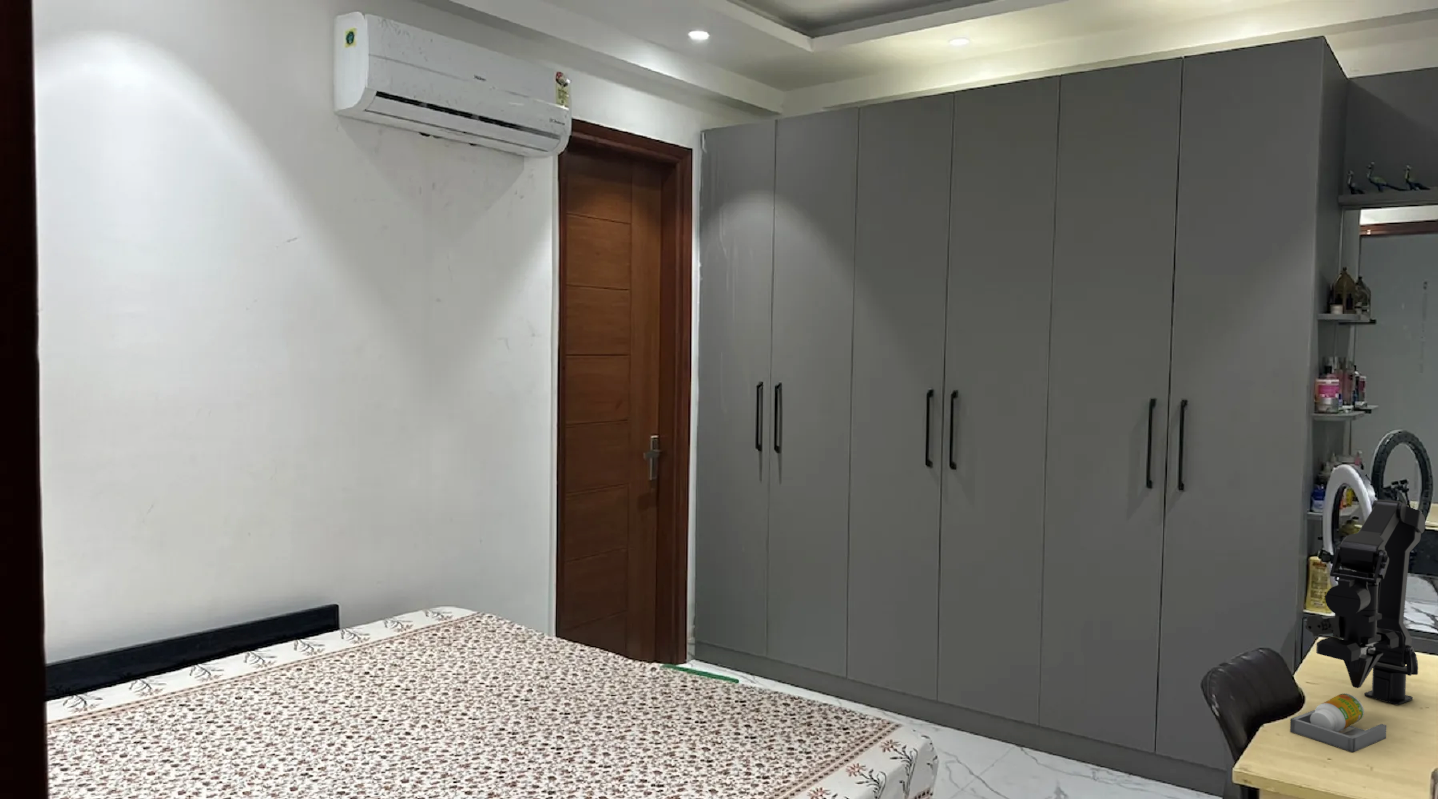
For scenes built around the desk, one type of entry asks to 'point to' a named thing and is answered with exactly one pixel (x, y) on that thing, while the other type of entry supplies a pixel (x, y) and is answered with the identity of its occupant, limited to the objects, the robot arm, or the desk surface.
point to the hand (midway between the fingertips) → (1356, 687)
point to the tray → (1337, 733)
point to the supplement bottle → (1338, 712)
